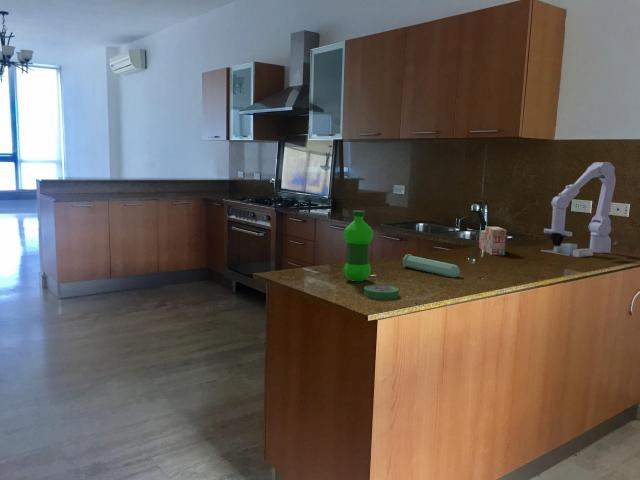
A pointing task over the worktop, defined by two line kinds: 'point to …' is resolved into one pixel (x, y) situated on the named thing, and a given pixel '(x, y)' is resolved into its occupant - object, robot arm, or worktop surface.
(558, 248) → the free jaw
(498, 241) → the printed cardboard box
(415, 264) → the container
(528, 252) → the worktop surface
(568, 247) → the steel block
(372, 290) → the tape roll
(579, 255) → the vise
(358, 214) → the plastic bottle
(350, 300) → the worktop surface
